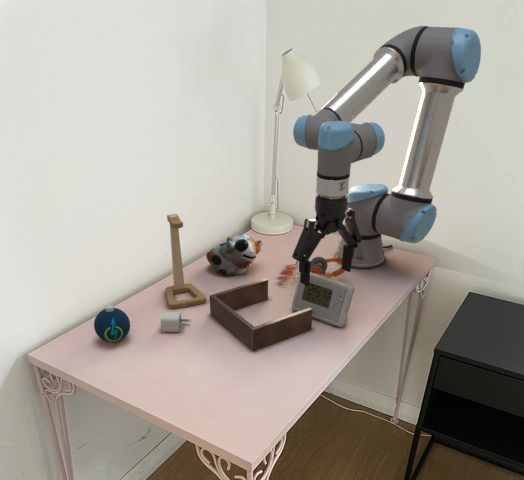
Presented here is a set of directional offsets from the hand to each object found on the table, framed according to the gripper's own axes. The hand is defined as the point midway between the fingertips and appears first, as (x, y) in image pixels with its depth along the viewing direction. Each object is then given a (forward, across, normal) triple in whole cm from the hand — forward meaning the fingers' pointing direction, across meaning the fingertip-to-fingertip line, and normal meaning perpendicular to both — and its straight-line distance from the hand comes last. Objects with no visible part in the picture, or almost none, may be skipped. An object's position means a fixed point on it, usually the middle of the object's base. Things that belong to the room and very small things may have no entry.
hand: (325, 276), depth 137 cm
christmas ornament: (+11, -50, +19) cm, 55 cm away
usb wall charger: (+11, -36, +15) cm, 40 cm away
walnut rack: (+11, -16, +6) cm, 20 cm away
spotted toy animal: (+11, -4, +37) cm, 39 cm away
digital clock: (+11, -1, 0) cm, 11 cm away
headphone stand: (+11, -26, +29) cm, 41 cm away
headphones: (+12, +12, +19) cm, 25 cm away
